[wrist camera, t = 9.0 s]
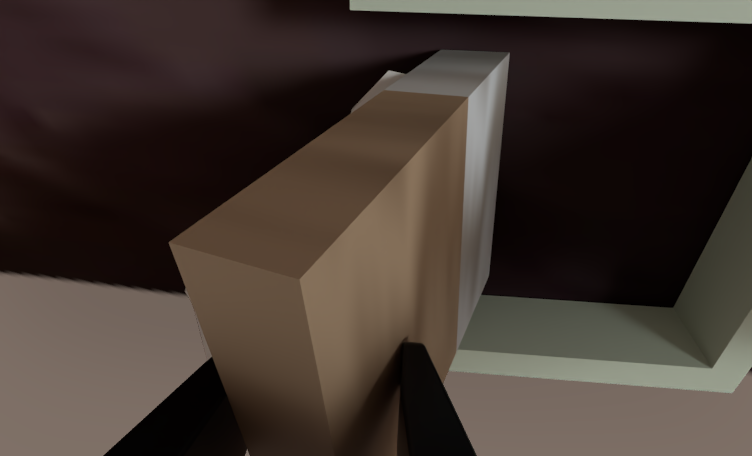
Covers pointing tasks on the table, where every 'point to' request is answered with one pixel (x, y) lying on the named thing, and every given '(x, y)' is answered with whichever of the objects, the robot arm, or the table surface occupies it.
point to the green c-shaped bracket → (617, 321)
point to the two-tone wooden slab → (353, 261)
